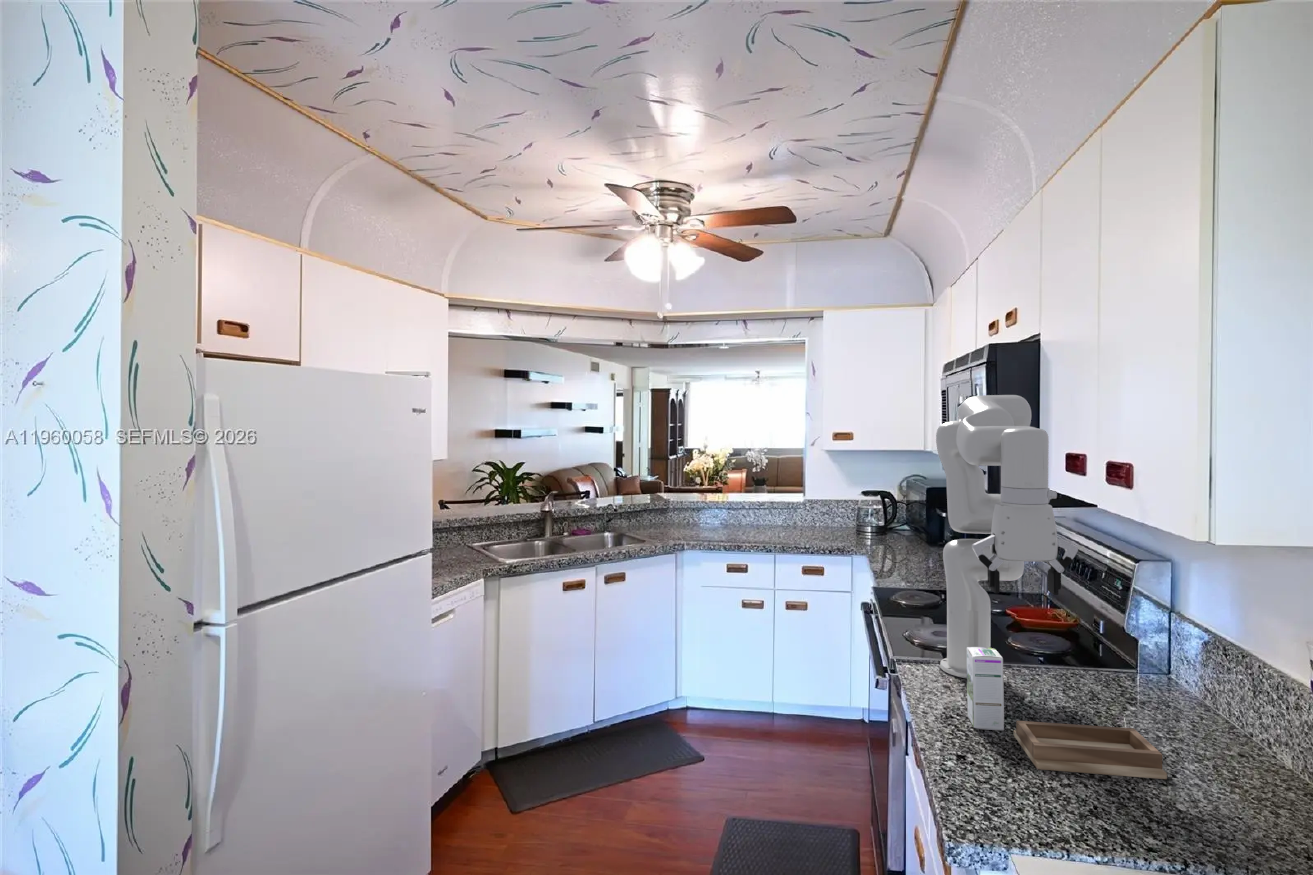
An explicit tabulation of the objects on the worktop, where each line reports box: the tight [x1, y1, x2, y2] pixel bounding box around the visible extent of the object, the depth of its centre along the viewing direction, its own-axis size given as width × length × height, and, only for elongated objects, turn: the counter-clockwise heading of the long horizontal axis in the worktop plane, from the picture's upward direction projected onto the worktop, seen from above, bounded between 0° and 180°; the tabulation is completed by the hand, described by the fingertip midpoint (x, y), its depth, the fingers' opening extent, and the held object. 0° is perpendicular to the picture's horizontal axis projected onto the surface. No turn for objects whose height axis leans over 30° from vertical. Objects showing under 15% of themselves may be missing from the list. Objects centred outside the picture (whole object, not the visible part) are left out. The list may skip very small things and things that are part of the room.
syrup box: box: [966, 647, 1005, 731], centre depth 138 cm, size 6×6×14 cm
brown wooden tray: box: [1013, 720, 1168, 780], centre depth 125 cm, size 13×20×4 cm, turn 79°
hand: (1023, 592), depth 125 cm, fingers open, 9 cm apart
